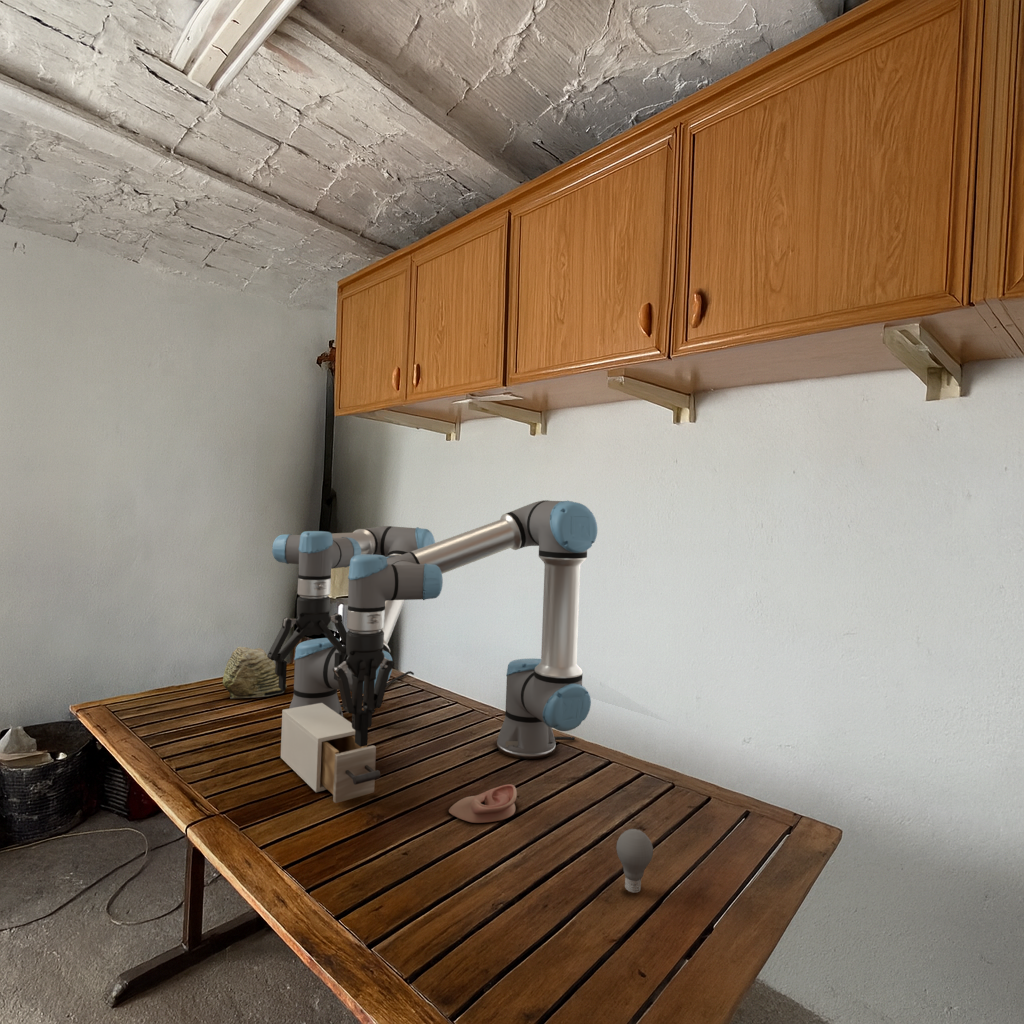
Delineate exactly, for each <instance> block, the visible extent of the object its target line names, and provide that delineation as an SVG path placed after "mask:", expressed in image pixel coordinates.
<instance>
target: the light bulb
mask: <svg viewBox="0 0 1024 1024" xmlns="http://www.w3.org/2000/svg"><path fill="white" fill-rule="evenodd" d="M615 849H616V854H617V857H618V859H619V861H620V863H621V865H622V867H623V873H624V874H623V875H624V876H625V878H624V888H625V890H627V891H628V892H630V893H634V894H635V893H639V892H640V891H641V889H642V887H641V886H642V879H643V877H644V875H645V871H646V868H647V867H648V866H649V864H650V863H651V861H652V859H653V855H654V847H653V843H652V841H651V838H649V836H648V835H647V834H646V833H645V832H643V831H642V830H641V829H636V828H629V829H627V830H625V831H623V832H622V833H621V834H620V835H619V837H618V839H617V841H616V847H615Z"/></svg>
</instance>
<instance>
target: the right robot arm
mask: <svg viewBox="0 0 1024 1024" xmlns="http://www.w3.org/2000/svg"><path fill="white" fill-rule="evenodd" d="M597 537H598V523H597V520H596V517H595V515H594V513H593V511H591V509H590V508H589V507H588V506H586V505H585V504H583V503H580V502H576V501H572V500H547V499H545V500H543V499H542V500H538V501H535V502H532V503H529V504H526V505H523V506H521V507H519V508H516V509H514V510H512V511H508V512H506V513H503V514H502V515H501V516H500V519H498V520H496V521H493V522H489V523H486V524H484V525H482V526H479V527H476V528H474V529H470V530H468V531H464V532H462V533H459V534H457V535H453V536H451V537H447V538H445V539H443V540H440V541H437V542H435V543H434V544H431V545H428V546H425V547H423V548H420V549H417V550H414V551H412V552H409V553H406V554H403V555H400V556H397V557H395V556H390V557H385V556H383V555H371V554H360V555H355V556H353V557H352V558H351V560H350V566H349V569H348V576H347V579H348V587H347V588H348V590H347V591H348V592H347V593H348V595H347V596H348V597H347V611H346V612H347V613H346V616H347V617H346V618H347V619H346V629H348V630H347V631H346V632H347V636H346V655H345V657H344V662H343V663H341V664H340V665H339V666H334V667H333V672H334V673H335V675H336V676H337V679H338V684H339V689H340V690H339V694H340V699H341V704H342V705H343V707H342V710H344V711H345V712H346V713H348V714H349V715H350V714H351V723H352V728H353V729H354V730H355V743H356V744H357V745H359V746H360V747H362V746H366V745H367V746H368V740H369V739H368V738H369V737H368V736H369V728H372V725H373V715H374V714H375V712H376V709H380V708H381V707H382V705H383V700H384V696H385V693H386V688H387V687H386V685H387V683H388V682H389V680H388V677H389V673H390V671H391V669H392V670H393V668H394V666H395V662H394V661H393V660H392V661H391V660H389V659H386V658H385V657H384V653H383V646H384V632H383V631H382V629H383V628H384V618H385V602H386V600H389V601H391V600H405V601H410V600H411V601H414V600H415V601H417V600H422V601H426V600H432V599H437V598H438V597H439V596H440V595H441V593H442V589H443V583H444V582H443V574H446V573H449V572H451V571H453V570H457V569H459V568H461V567H464V566H467V565H470V564H472V563H475V562H477V561H479V560H482V559H484V558H488V557H490V556H493V555H495V554H499V553H501V552H503V551H506V550H509V549H511V550H514V551H517V550H520V549H523V548H527V547H538V559H540V560H541V561H542V562H543V564H544V569H543V597H542V623H541V624H542V625H541V628H542V629H541V649H540V650H541V651H540V653H541V655H540V658H517V659H514V660H511V661H510V662H509V663H508V664H507V669H506V674H505V677H506V685H505V687H506V688H505V689H506V690H505V711H504V712H505V714H504V715H505V716H504V719H503V721H502V724H501V728H500V730H499V733H498V736H497V739H496V748H497V750H498V751H499V752H500V753H501V754H504V755H505V756H508V757H511V758H515V759H521V760H539V759H545V758H547V757H549V756H552V755H553V754H554V753H555V752H556V741H575V740H576V737H575V736H555V734H554V731H553V729H554V730H557V731H560V732H569V731H572V730H575V729H576V728H578V727H579V726H580V725H581V724H582V722H583V721H585V720H586V719H587V717H588V715H589V713H590V710H591V706H592V705H591V704H592V699H591V694H590V692H589V691H588V689H587V688H586V687H585V686H584V685H583V676H584V675H583V669H582V668H581V667H580V666H579V664H578V639H579V638H578V637H579V636H578V635H579V612H580V611H579V609H580V587H581V585H580V584H581V583H580V582H581V565H582V564H583V563H584V562H585V561H586V560H587V559H588V550H589V549H590V548H591V547H593V544H594V543H595V542H596V540H597ZM379 666H380V669H379V672H378V676H377V680H376V684H375V688H374V682H375V679H376V670H377V669H378V667H379ZM347 667H348V669H349V670H350V671H351V673H352V692H350V687H349V682H348V678H347V675H346V674H347ZM363 681H364V691H363ZM387 681H388V682H387ZM362 698H363V700H362ZM571 737H572V738H571Z"/></svg>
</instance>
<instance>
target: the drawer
mask: <svg viewBox="0 0 1024 1024" xmlns="http://www.w3.org/2000/svg"><path fill="white" fill-rule="evenodd" d="M376 758H377V746H375V745H368V744H367V745H366V746H362V747H360V746H359V745H357V744H356V743H355V736H354V735H351V736H346V737H342V738H337V739H333V740H328V741H323V742H322V749H321V775H320V783H321V784H322V785H323V786H324V787H325V788H326V789H327V791H328V792H329V793H330V794H331V795H332V801H333V803H334V804H338V803H341V802H345V801H348V800H352V799H355V798H359V797H362V796H366V795H370V794H373V793H375V783H376V780H379V779H381V772H380V770H378V769H376V762H377V761H376Z"/></svg>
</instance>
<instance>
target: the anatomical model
mask: <svg viewBox="0 0 1024 1024" xmlns="http://www.w3.org/2000/svg"><path fill="white" fill-rule="evenodd" d="M517 797H518V793H517V788H516V786H515V785H514V784H510V783H509V784H503V785H500V786H497V787H493V788H491V789H488V790H486V791H483V792H482V793H479V794H477V795H471V796H470V795H469V796H466V797H463V798H461V799H459V800H458V801H456V802H455V803H453V804H452V806H450V807H449V809H448V813H449V814H450V815H452V816H453V817H455V818H457V819H459V820H462V821H465V822H468V823H471V824H472V823H473V824H483V823H484V824H485V823H492V822H497V821H503V820H506V819H508V818H511V817H512V816H514V815H515V813H516V804H515V802H516V800H517Z"/></svg>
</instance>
